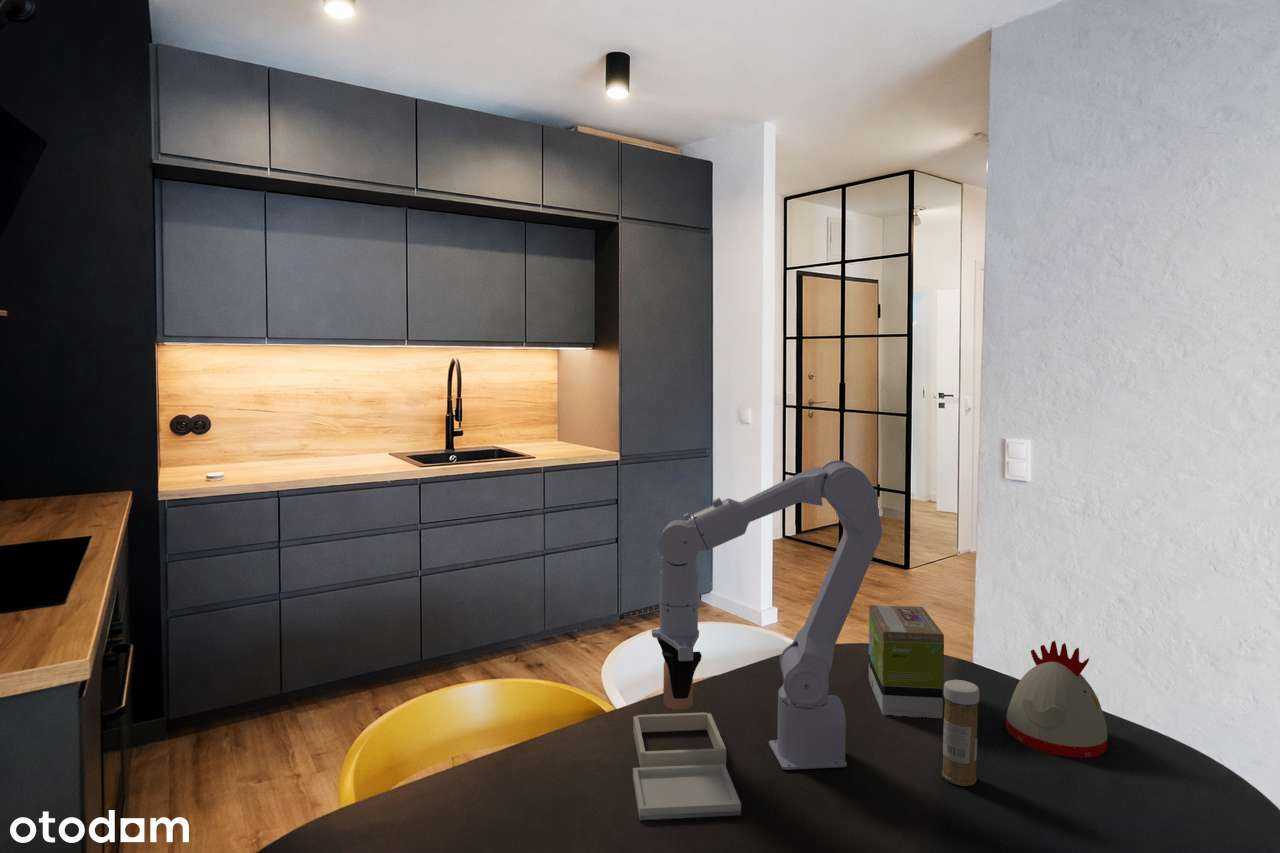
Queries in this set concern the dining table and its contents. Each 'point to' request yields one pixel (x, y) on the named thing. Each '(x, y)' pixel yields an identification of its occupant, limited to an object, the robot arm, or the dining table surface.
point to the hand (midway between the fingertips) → (678, 690)
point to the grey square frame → (678, 724)
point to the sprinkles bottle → (960, 732)
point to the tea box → (906, 661)
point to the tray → (685, 792)
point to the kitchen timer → (1057, 707)
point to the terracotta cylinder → (668, 695)
